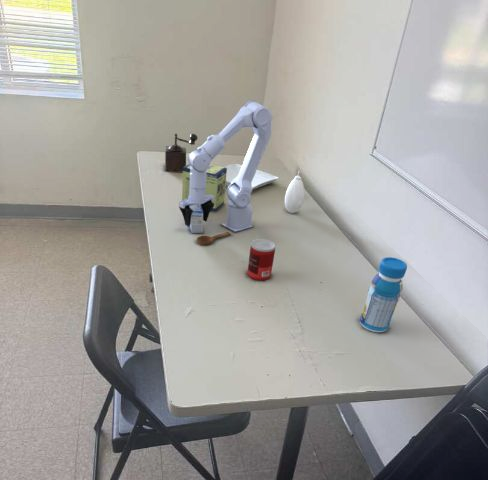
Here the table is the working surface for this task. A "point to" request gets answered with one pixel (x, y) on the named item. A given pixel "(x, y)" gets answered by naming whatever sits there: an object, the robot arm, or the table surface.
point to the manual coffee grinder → (177, 155)
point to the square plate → (258, 179)
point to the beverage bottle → (383, 295)
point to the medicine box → (196, 219)
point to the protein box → (208, 184)
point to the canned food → (261, 259)
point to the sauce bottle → (294, 195)
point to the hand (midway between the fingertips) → (196, 222)
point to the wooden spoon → (210, 238)
